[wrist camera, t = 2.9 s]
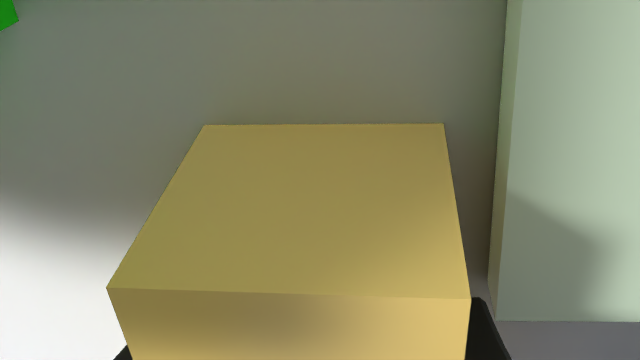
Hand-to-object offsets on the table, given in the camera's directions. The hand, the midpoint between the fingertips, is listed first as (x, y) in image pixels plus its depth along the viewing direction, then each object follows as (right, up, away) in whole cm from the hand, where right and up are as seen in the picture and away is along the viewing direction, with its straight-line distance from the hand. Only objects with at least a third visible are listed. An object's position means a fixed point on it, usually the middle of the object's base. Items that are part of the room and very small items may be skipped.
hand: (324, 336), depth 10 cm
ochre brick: (0, +1, +1) cm, 2 cm away
